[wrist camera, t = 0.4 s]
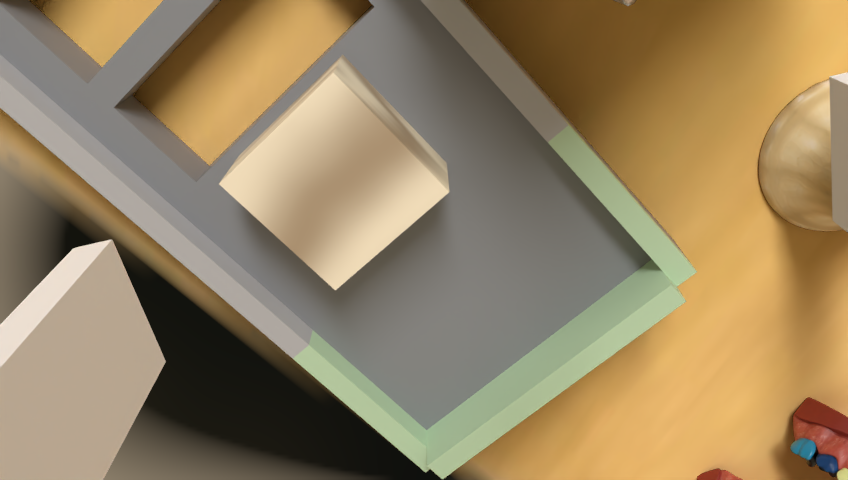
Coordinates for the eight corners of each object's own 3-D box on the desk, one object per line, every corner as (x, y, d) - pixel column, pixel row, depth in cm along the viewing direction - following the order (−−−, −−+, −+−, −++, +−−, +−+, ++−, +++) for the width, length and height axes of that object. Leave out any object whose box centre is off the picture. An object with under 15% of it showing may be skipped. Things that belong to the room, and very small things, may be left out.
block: (238, 155, 37) (218, 183, 33) (342, 54, 35) (333, 72, 31) (343, 253, 39) (335, 290, 35) (446, 163, 37) (449, 192, 34)
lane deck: (-33, 23, 37) (-105, 42, 32) (217, -283, 32) (180, -317, 27) (425, 427, 46) (425, 491, 41) (672, 239, 42) (707, 285, 37)
